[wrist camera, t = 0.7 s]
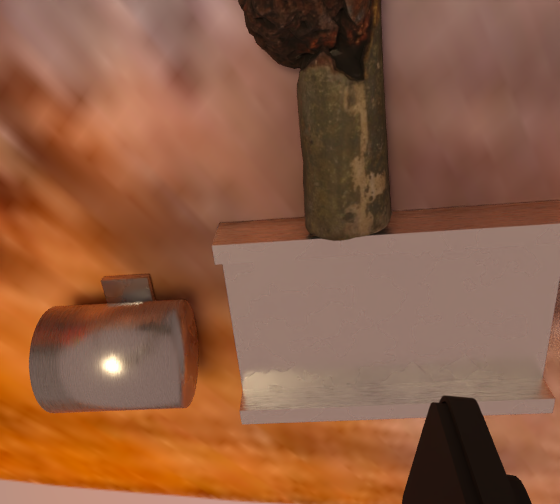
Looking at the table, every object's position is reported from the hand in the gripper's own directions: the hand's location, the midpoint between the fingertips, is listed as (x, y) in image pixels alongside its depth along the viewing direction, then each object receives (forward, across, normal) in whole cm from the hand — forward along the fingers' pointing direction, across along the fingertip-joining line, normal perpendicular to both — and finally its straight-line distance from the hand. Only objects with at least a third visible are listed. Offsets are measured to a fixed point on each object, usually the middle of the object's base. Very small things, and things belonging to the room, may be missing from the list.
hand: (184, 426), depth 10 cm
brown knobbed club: (+22, -3, -4) cm, 23 cm away
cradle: (+22, -9, +11) cm, 26 cm away
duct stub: (+22, +7, +14) cm, 27 cm away
